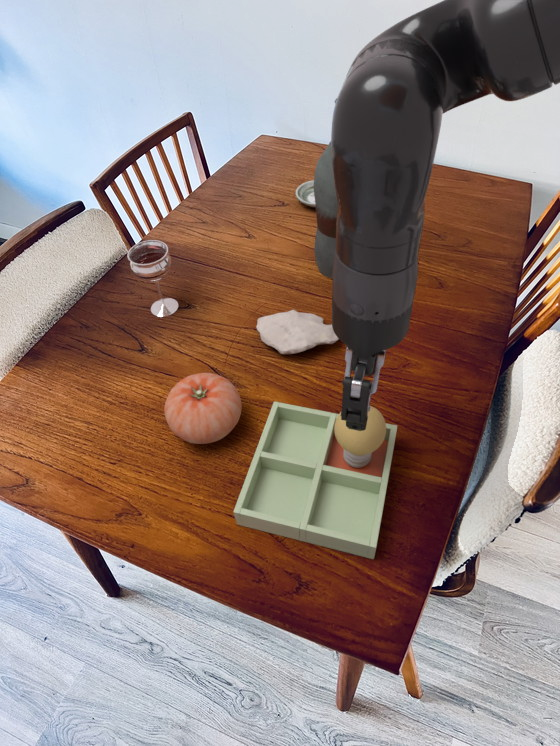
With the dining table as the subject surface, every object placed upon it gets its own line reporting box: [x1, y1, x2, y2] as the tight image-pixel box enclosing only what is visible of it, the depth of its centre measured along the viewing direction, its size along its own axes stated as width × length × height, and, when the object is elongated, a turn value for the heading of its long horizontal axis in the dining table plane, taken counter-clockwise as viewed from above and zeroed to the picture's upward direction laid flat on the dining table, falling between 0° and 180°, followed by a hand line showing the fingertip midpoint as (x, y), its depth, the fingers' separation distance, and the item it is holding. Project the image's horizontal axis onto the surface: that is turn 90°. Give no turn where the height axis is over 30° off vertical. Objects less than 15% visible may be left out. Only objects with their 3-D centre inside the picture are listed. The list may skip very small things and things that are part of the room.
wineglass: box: [127, 239, 179, 318], centre depth 89 cm, size 7×7×12 cm
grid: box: [232, 401, 398, 560], centre depth 68 cm, size 17×17×4 cm
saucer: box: [295, 179, 316, 208], centre depth 112 cm, size 10×10×2 cm
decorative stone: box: [255, 309, 339, 355], centre depth 85 cm, size 11×4×15 cm
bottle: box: [313, 98, 338, 279], centre depth 87 cm, size 9×9×30 cm
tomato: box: [163, 372, 243, 445], centre depth 73 cm, size 11×11×8 cm
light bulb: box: [334, 405, 386, 468], centre depth 66 cm, size 6×6×10 cm
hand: (363, 397), depth 60 cm, fingers open, 8 cm apart
